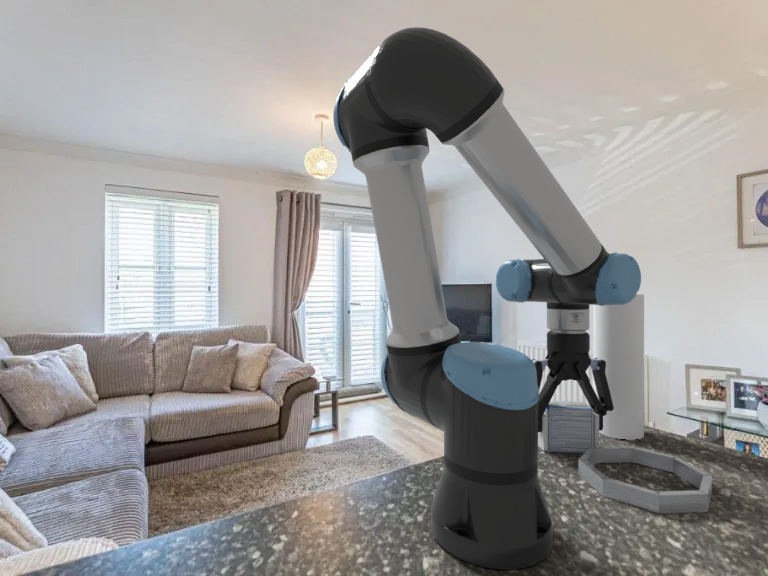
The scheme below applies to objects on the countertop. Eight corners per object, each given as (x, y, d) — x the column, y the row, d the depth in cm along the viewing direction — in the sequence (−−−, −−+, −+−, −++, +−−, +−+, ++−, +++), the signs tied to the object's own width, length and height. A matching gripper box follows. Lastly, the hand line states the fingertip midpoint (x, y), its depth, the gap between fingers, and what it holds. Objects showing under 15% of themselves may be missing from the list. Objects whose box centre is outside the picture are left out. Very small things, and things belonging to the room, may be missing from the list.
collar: (623, 514, 57) (624, 496, 57) (563, 461, 74) (563, 447, 74) (742, 510, 58) (742, 492, 58) (655, 458, 75) (655, 445, 75)
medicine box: (585, 445, 81) (585, 401, 81) (593, 454, 77) (593, 408, 77) (543, 443, 82) (543, 399, 82) (549, 452, 78) (549, 406, 78)
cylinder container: (604, 421, 95) (604, 290, 94) (650, 432, 88) (651, 291, 87) (585, 430, 89) (585, 291, 88) (633, 443, 82) (633, 292, 81)
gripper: (518, 334, 75) (519, 457, 75) (636, 332, 76) (636, 453, 76) (504, 329, 82) (505, 441, 83) (611, 328, 83) (611, 438, 84)
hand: (568, 447), depth 79 cm, fingers open, 9 cm apart
